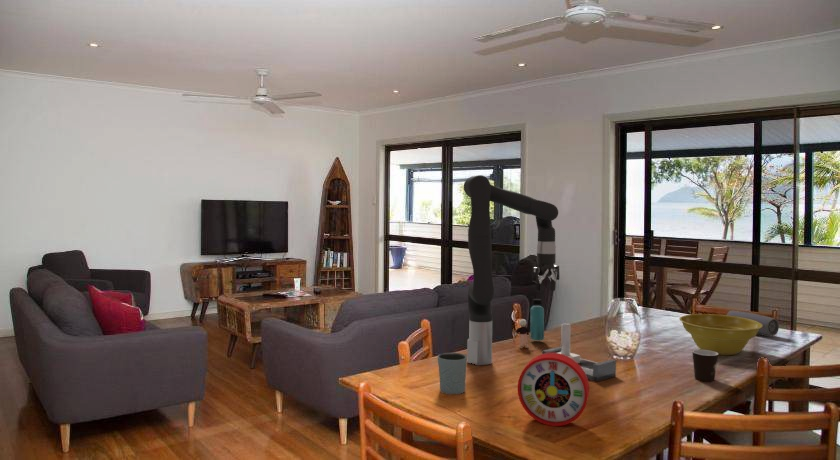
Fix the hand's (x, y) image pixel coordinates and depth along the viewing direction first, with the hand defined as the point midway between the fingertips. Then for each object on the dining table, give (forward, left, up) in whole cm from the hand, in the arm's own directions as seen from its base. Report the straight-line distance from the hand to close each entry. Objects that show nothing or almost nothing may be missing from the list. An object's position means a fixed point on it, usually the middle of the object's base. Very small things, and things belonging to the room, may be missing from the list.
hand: (545, 291), depth 241 cm
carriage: (-3, -13, -26) cm, 29 cm away
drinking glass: (-57, -8, -28) cm, 64 cm away
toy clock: (-52, -48, -28) cm, 76 cm away
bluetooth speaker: (+120, -29, -28) cm, 127 cm away
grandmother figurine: (+7, +19, -28) cm, 35 cm away
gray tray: (-3, -19, -28) cm, 34 cm away
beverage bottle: (+20, +22, -28) cm, 41 cm away
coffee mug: (+27, -54, -28) cm, 67 cm away
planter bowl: (+71, -37, -28) cm, 85 cm away
